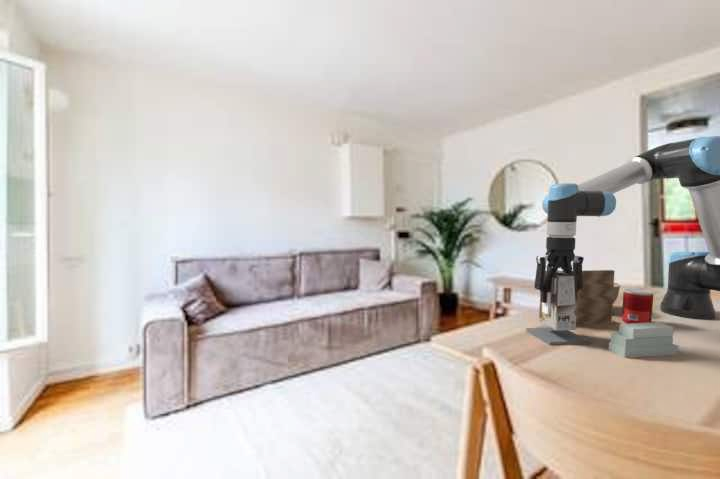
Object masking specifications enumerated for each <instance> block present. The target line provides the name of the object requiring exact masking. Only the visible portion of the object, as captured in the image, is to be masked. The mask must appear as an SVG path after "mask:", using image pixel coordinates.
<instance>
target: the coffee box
mask: <svg viewBox="0 0 720 479" xmlns="http://www.w3.org/2000/svg"><path fill="white" fill-rule="evenodd" d="M562 271H563V270H557V271H556V272H555V274H552V277H551V286H550V288H549V291H548V292H550V293H551V304H550V314H546V313H543V312H542V303H543V302H541V300H540V299H539V313H538V314H539V315H538V317H539V318H538V319H539V320H538V321H539V322H540V323H542V324H543V325H546V326H548V327H551V328H553V329H555V330H569V331H575V330H576V329H577V324H576V312H577V290H578V276H577V275H574V274H568V273H564V272H562ZM545 273H546V270H545ZM540 297H541V291H540V290H539V298H540Z"/></svg>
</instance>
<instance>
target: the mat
mask: <svg viewBox="0 0 720 479" xmlns="http://www.w3.org/2000/svg"><path fill="white" fill-rule="evenodd" d="M526 330H527V332H528V333H529V332H530V333H529V334H531V335H532V336H534V335H535V336H534V337H536V338H537V339H539V340H540V341H543V342H544V343H546V344H548V345H549V346H552V345H553V346H554V345H555V346H556V345H557V346H558V345H577V344H578V345H579V344H581V345H582V344H589V343H590V340H589V339H587V338H585V337H583V336H580V335H579V334H577V333H576V332H573V331H572V330H555V329H553V328H551V327H549V326H548V327H546V326H545V327H526V328H525V331H526Z"/></svg>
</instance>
